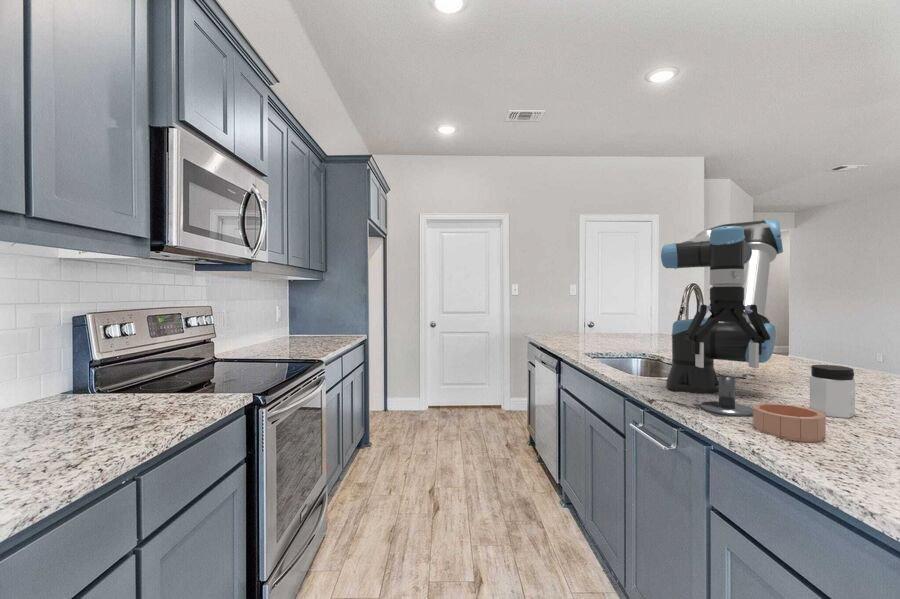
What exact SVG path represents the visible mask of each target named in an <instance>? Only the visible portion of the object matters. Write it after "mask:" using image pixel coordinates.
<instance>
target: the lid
mask: <svg viewBox="0 0 900 599" xmlns="http://www.w3.org/2000/svg"><path fill="white" fill-rule="evenodd" d="M718 381H719V392H718V401H713V400H711V401H704V402H701V403H700V404H701V408H702V409H703V410H702V409H701V410H702V411H704V410H705V411H704V412H706V411H708V412H711V413H715V414H720V415H727V416H740V417H739V418H742V417H741V416H751V415H753V407H750V406H747V405H744V404H740V403H736V377H735V376H733V375H725V374H724V375H723V374H722V375H718ZM708 412H707V413H708Z"/></svg>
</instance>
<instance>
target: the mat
mask: <svg viewBox="0 0 900 599" xmlns="http://www.w3.org/2000/svg"><path fill="white" fill-rule="evenodd" d="M691 405H693V406H694V407H696V408H698V409H700V410H702V411H704V412H707V413H708V414H710V415H712V416H713V417H716V418H718V417H719V418H720V417H722V418H725V417H726V418H753V415H751V416H741V417H740V416H727V415H720V414H715V413H711V412H708V411H705V410H703V409H702V408H701V403H692V404H691Z"/></svg>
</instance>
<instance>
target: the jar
mask: <svg viewBox="0 0 900 599" xmlns="http://www.w3.org/2000/svg"><path fill="white" fill-rule="evenodd" d="M810 369H811V370H810V371H811V373H810V374H811V375H810V376H809V408H810V409H813V410H816V411H819V412H822V413H823V414H824V415H825V416H826V417H830V418H831V417H832V418H841V419H842V418H843V419H850V418H853V417H854V416H856V378H854V377H855V373H854V370H855V369H854V368H852V367H848V366H842V365H835V364H833V365H831V364H812V365H811V366H810Z"/></svg>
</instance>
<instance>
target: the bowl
mask: <svg viewBox="0 0 900 599" xmlns="http://www.w3.org/2000/svg"><path fill="white" fill-rule="evenodd" d="M752 409H753V417H752V425H753V428H754V429H756V430H757V431H760V432H763V433H766V434H768V435H772V436H775V437H776V438H775V439H778V438H780V439H779V440H783V439H786V440H785V441H788V440H791V441H790V442H796V441H799V442H798V443H819V442H820V441H821V442H823V441H824V440H825V437H826V421H827V420H826V417H827V416H825V415H824V414H823V413H822V412H819V411H816V410H813V409H810V407H805V406H800V405H795V404H794V405H793V404H785V403H777V402H773V403H765V402H761V403H756V404H752ZM792 440H793V441H792Z"/></svg>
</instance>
